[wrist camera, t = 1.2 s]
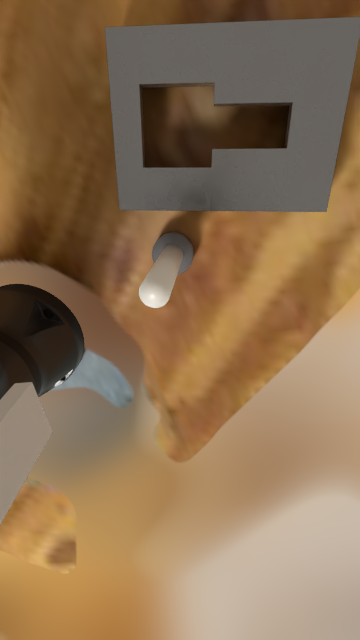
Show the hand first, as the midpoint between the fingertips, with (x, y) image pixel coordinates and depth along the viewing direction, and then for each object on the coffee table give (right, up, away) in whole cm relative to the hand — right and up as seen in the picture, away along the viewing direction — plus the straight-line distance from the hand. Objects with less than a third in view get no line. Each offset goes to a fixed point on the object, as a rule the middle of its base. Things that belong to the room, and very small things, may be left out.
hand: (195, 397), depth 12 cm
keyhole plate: (+4, +22, +19) cm, 29 cm away
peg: (-1, +11, +24) cm, 27 cm away
